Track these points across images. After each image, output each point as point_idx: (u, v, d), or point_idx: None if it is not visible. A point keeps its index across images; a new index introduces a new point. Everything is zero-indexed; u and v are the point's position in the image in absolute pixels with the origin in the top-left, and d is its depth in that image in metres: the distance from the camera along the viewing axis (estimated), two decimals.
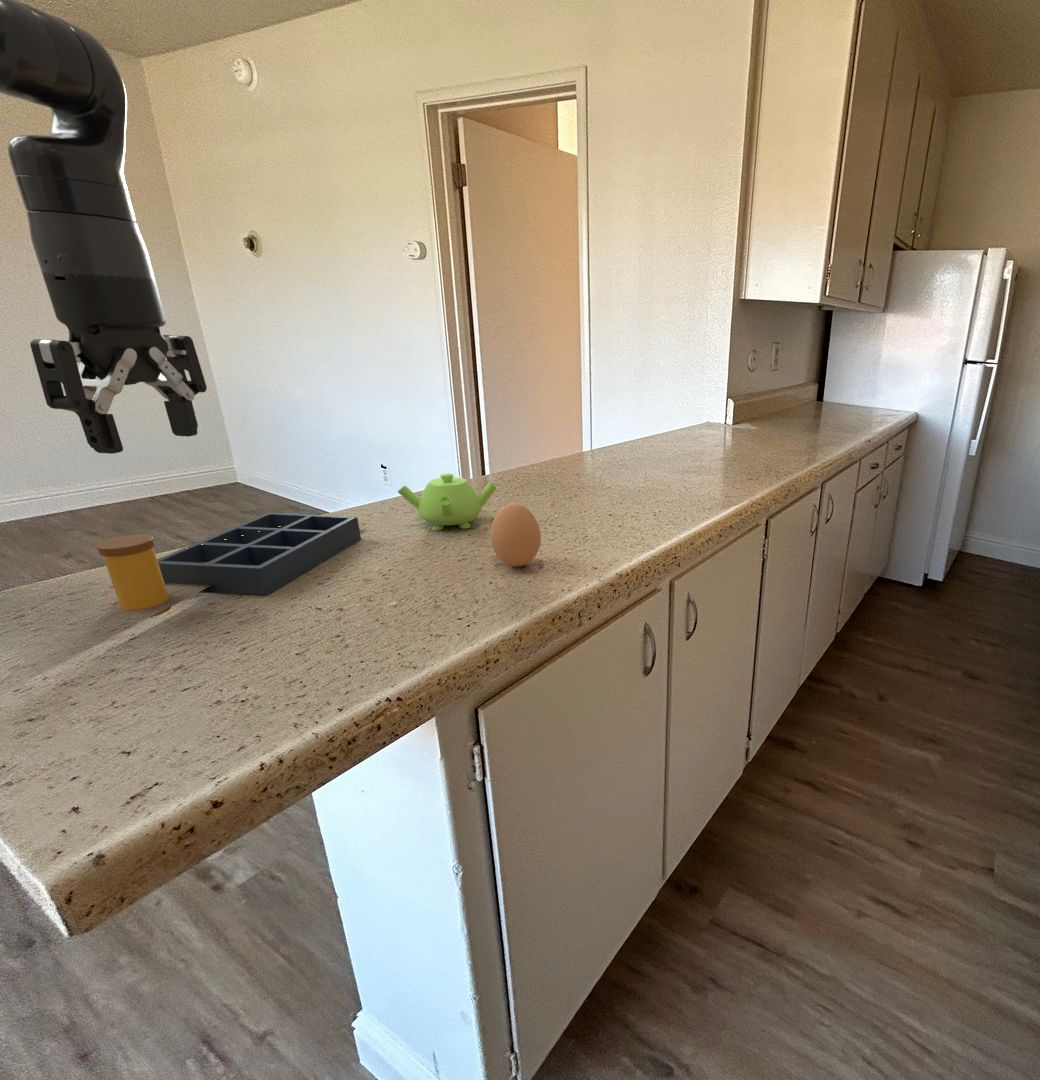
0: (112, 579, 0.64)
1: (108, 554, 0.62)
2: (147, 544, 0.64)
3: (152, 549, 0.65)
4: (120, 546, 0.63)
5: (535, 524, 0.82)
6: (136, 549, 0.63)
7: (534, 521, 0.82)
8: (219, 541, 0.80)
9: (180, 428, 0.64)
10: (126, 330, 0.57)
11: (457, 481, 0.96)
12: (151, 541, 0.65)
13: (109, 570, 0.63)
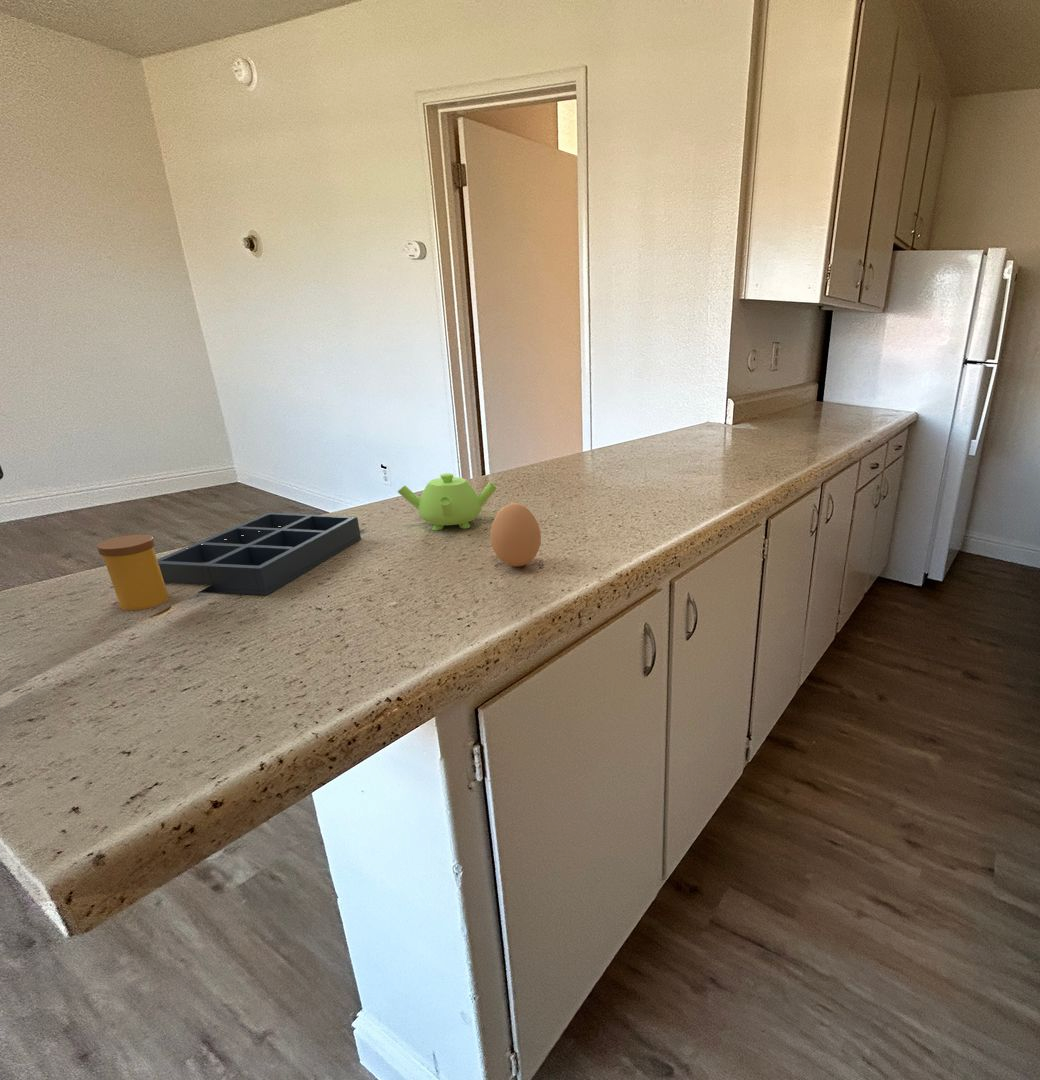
0: (112, 579, 0.64)
1: (108, 554, 0.62)
2: (147, 544, 0.64)
3: (152, 549, 0.65)
4: (120, 546, 0.63)
5: (535, 524, 0.82)
6: (136, 549, 0.63)
7: (534, 521, 0.82)
8: (219, 541, 0.80)
9: None
10: None
11: (457, 481, 0.96)
12: (151, 541, 0.65)
13: (109, 570, 0.63)
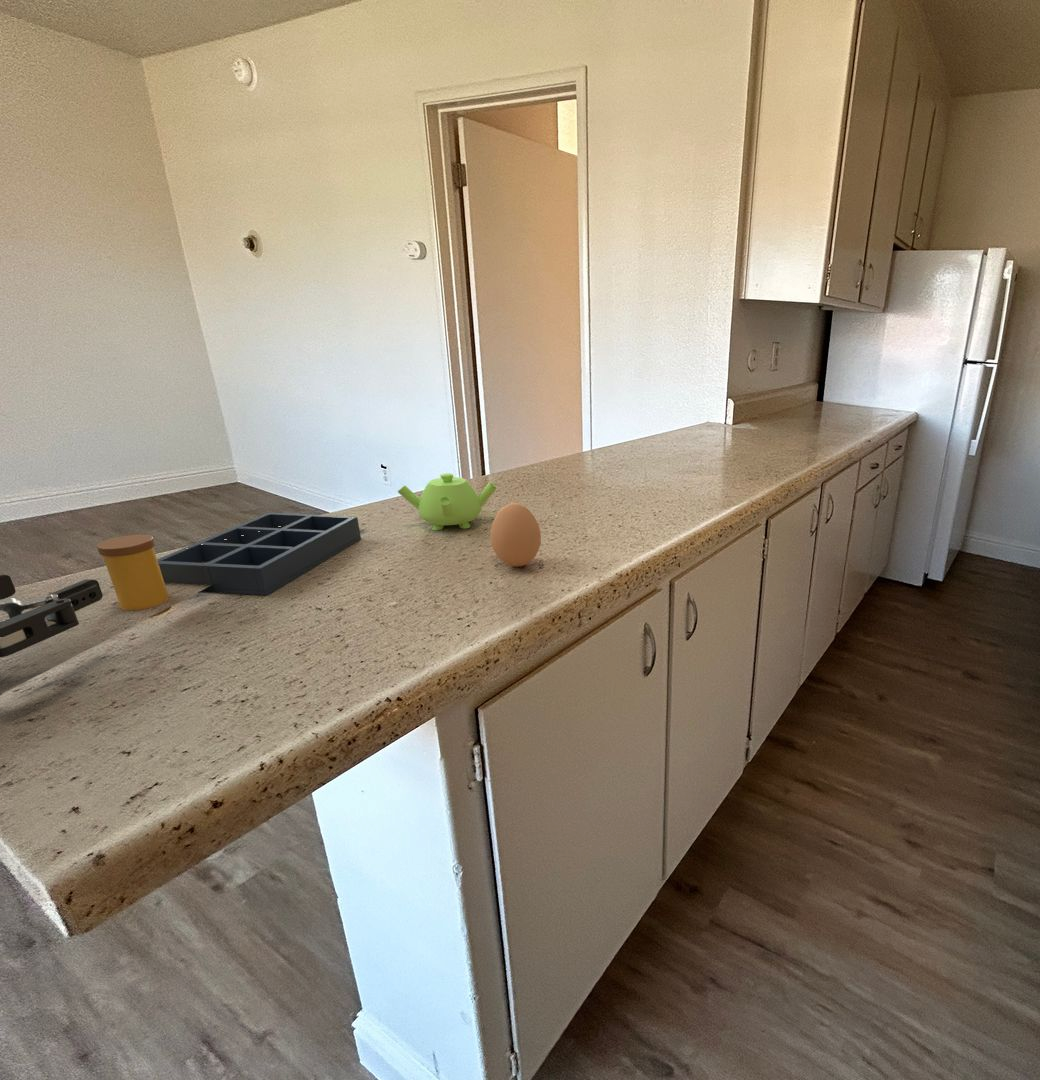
0: (112, 579, 0.64)
1: (108, 554, 0.62)
2: (147, 544, 0.64)
3: (152, 549, 0.65)
4: (120, 546, 0.63)
5: (535, 524, 0.82)
6: (136, 549, 0.63)
7: (534, 521, 0.82)
8: (219, 541, 0.80)
9: None
10: None
11: (457, 481, 0.96)
12: (151, 541, 0.65)
13: (109, 570, 0.63)
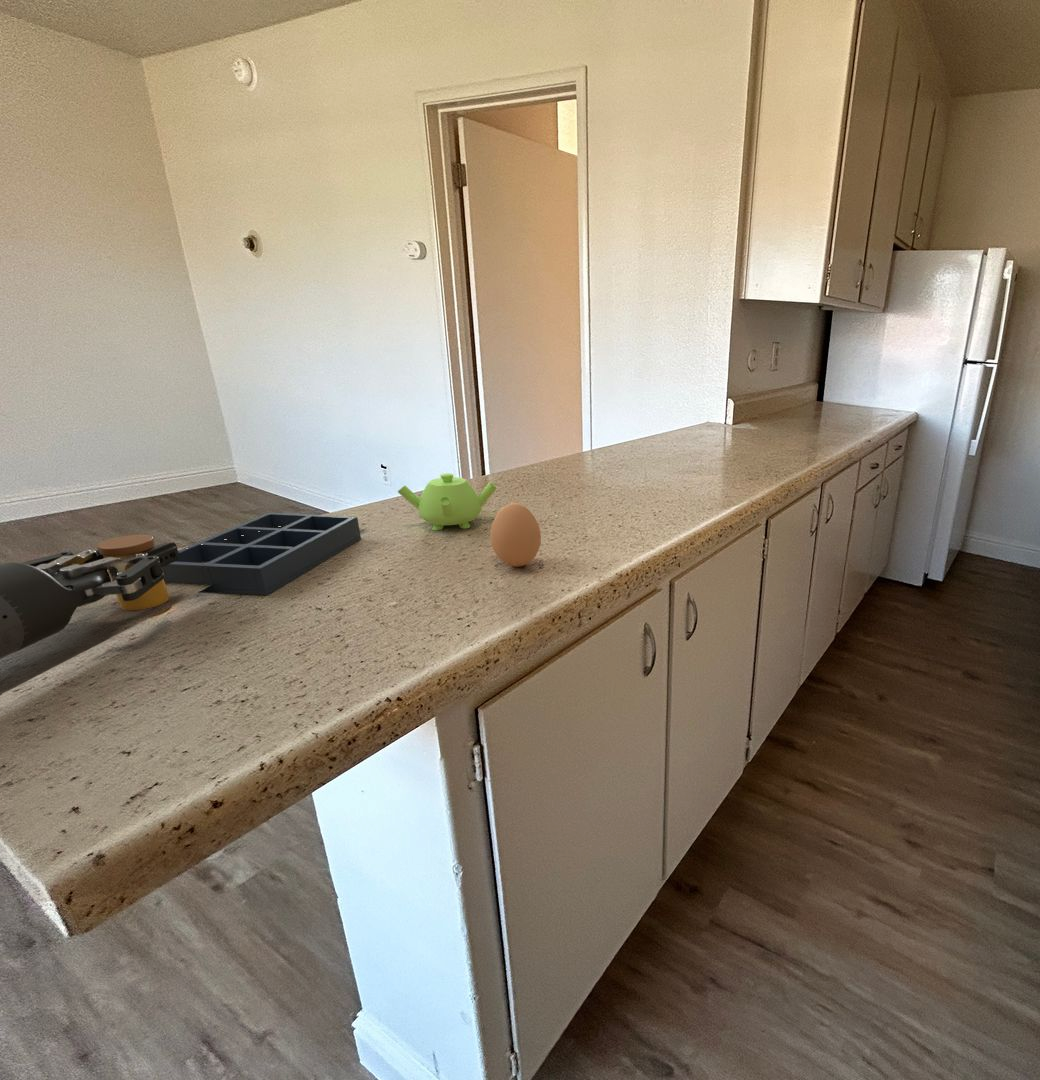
0: (112, 579, 0.64)
1: (108, 554, 0.62)
2: (147, 544, 0.64)
3: None
4: (121, 546, 0.63)
5: (535, 524, 0.82)
6: (136, 549, 0.63)
7: (534, 521, 0.82)
8: (219, 541, 0.80)
9: None
10: None
11: (457, 481, 0.96)
12: (151, 541, 0.65)
13: None
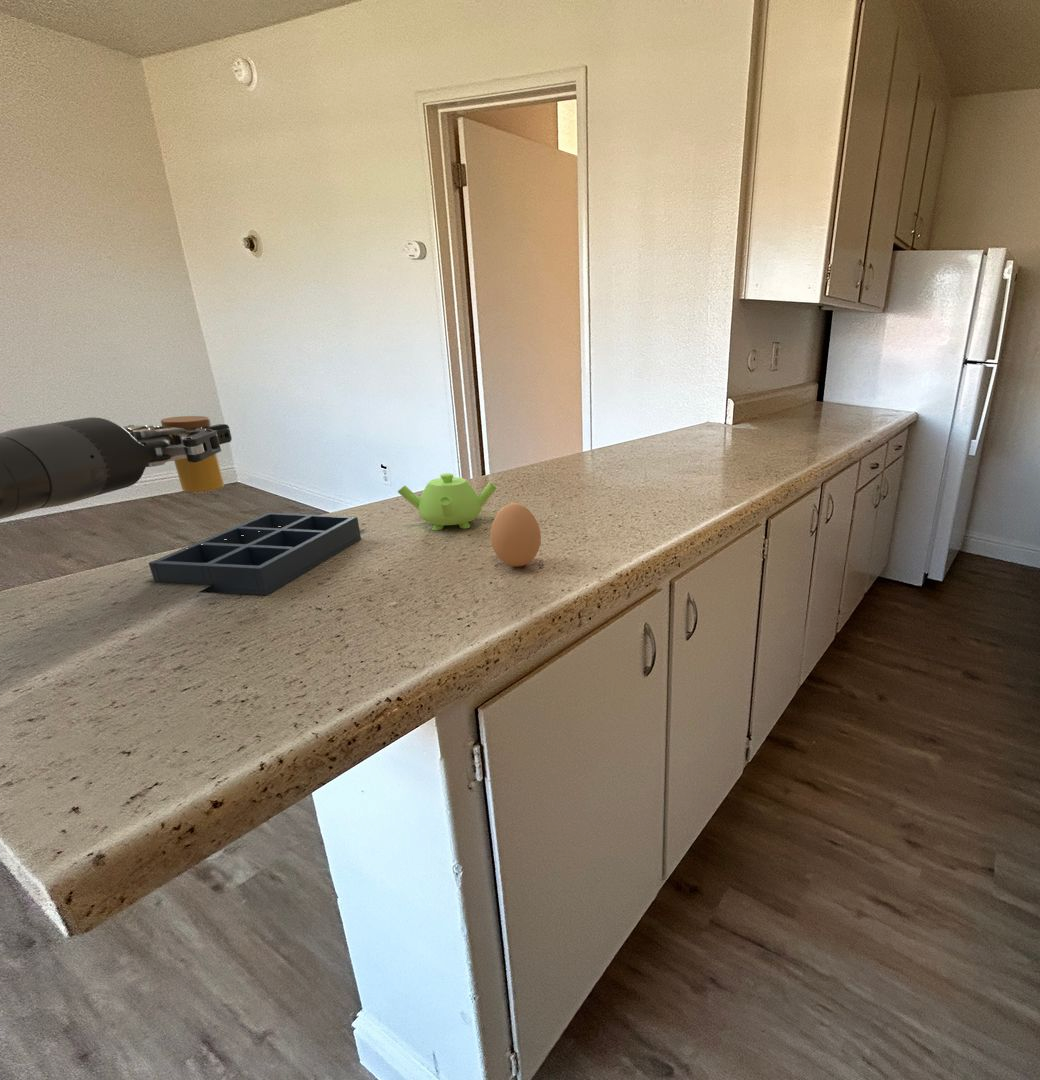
0: None
1: None
2: (205, 421, 0.71)
3: None
4: (182, 421, 0.69)
5: (535, 524, 0.82)
6: (196, 424, 0.70)
7: (534, 521, 0.82)
8: (219, 541, 0.80)
9: None
10: None
11: (457, 481, 0.96)
12: (208, 420, 0.71)
13: None
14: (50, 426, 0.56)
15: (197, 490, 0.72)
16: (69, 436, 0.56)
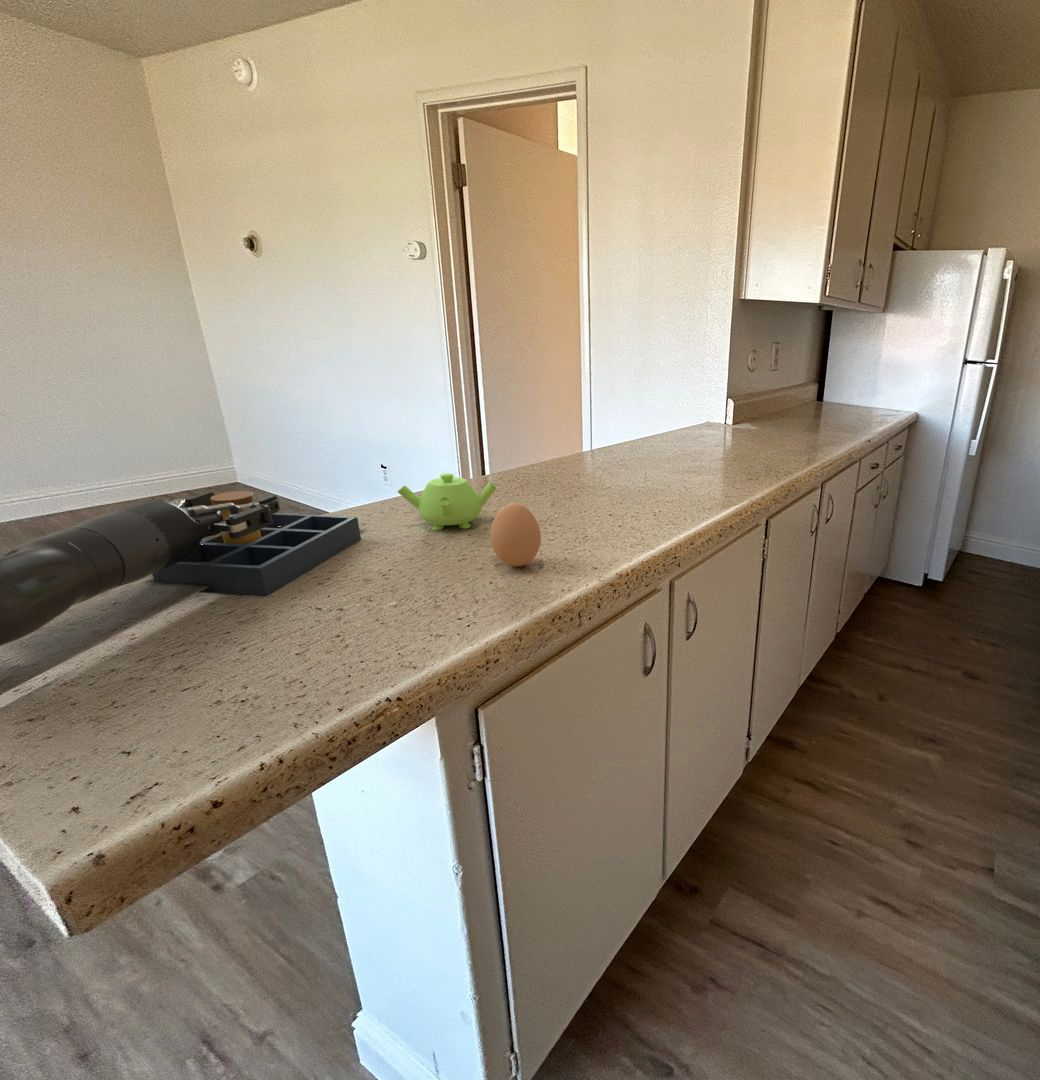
0: None
1: None
2: (249, 498, 0.78)
3: None
4: (230, 498, 0.76)
5: (535, 524, 0.82)
6: (242, 501, 0.77)
7: (534, 521, 0.82)
8: (219, 541, 0.80)
9: None
10: None
11: (457, 481, 0.96)
12: (252, 496, 0.79)
13: None
14: (121, 514, 0.63)
15: None
16: (138, 523, 0.63)
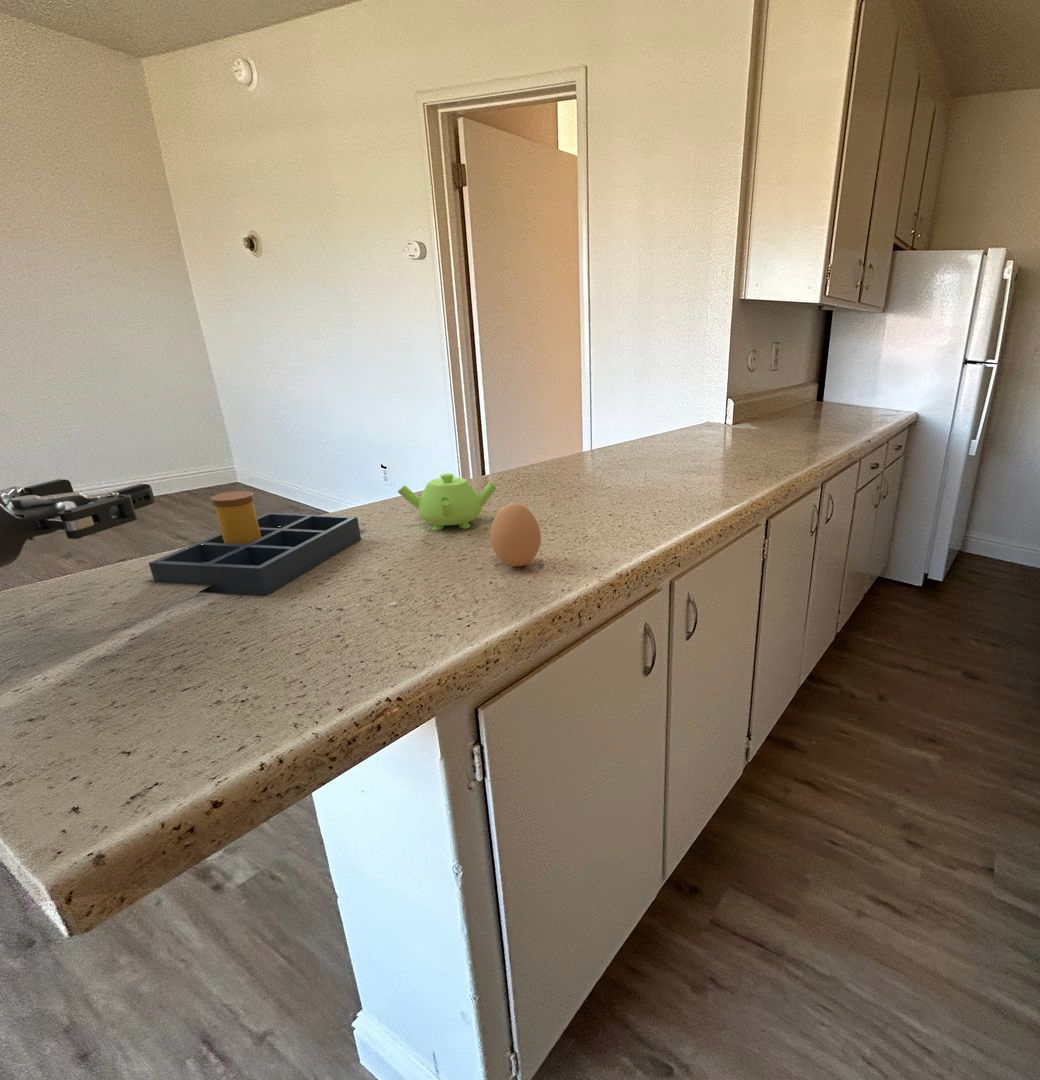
0: (221, 526, 0.77)
1: (220, 505, 0.76)
2: (249, 498, 0.78)
3: (252, 503, 0.79)
4: (230, 498, 0.76)
5: (535, 524, 0.82)
6: (242, 501, 0.77)
7: (534, 521, 0.82)
8: (219, 541, 0.80)
9: None
10: None
11: (457, 481, 0.96)
12: (252, 496, 0.79)
13: (220, 519, 0.77)
14: None
15: None
16: None
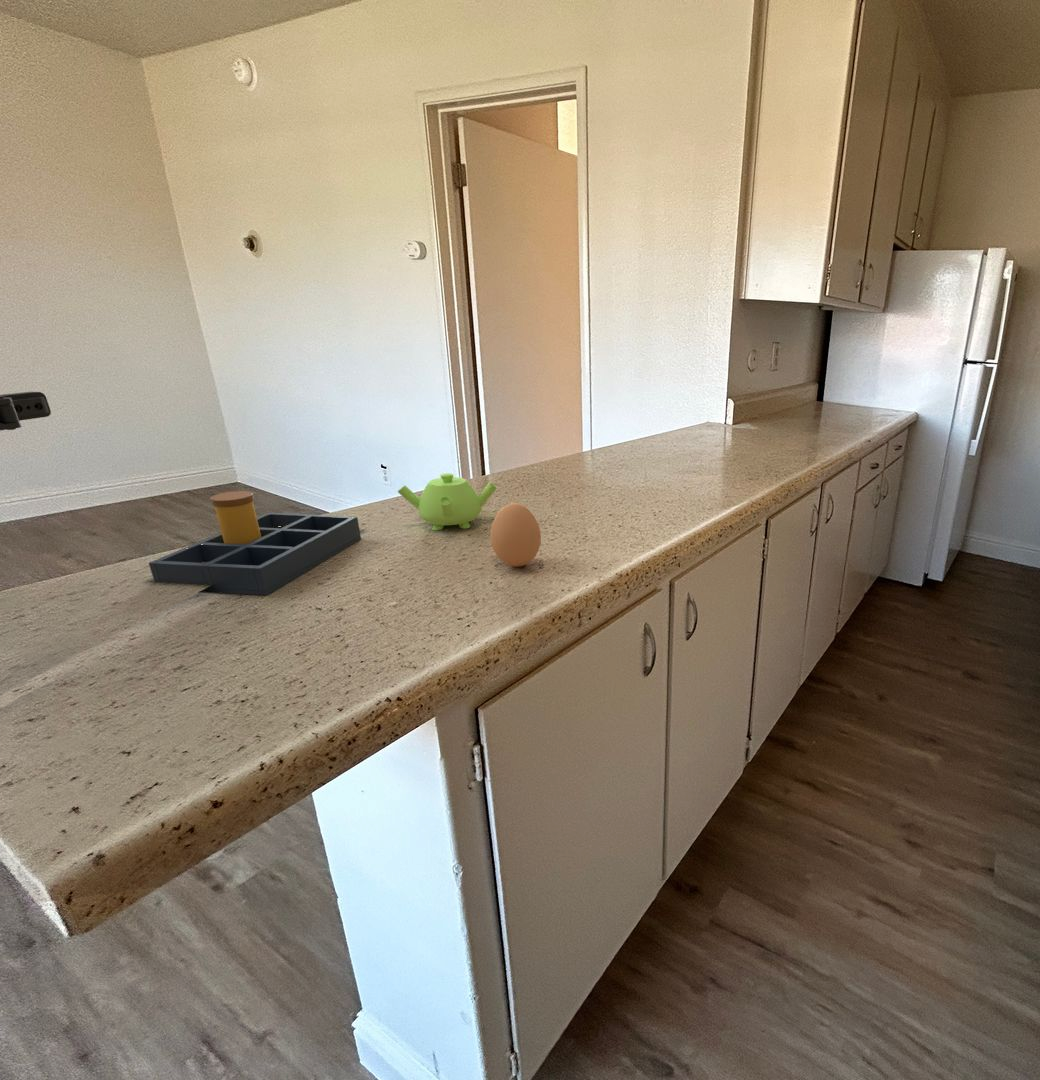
0: (221, 526, 0.77)
1: (220, 505, 0.76)
2: (249, 498, 0.78)
3: (252, 503, 0.79)
4: (230, 498, 0.76)
5: (535, 524, 0.82)
6: (242, 501, 0.77)
7: (534, 521, 0.82)
8: (219, 541, 0.80)
9: None
10: None
11: (457, 481, 0.96)
12: (252, 496, 0.79)
13: (220, 519, 0.77)
14: None
15: None
16: None
